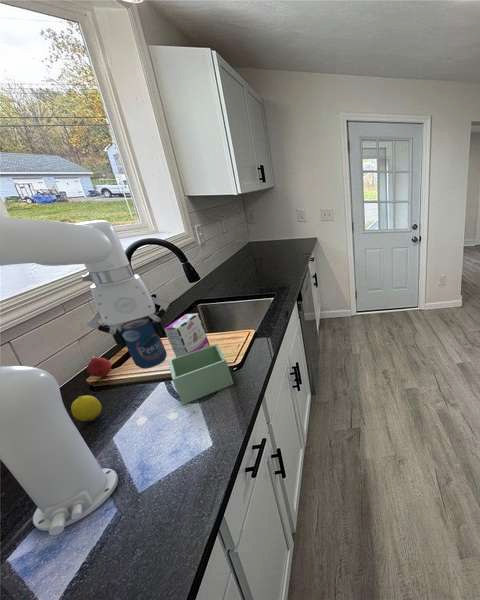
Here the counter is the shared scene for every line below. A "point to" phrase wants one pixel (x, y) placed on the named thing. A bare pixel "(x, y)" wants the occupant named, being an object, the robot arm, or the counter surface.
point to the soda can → (143, 343)
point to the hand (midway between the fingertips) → (142, 339)
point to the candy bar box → (187, 335)
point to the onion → (98, 367)
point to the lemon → (86, 408)
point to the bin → (200, 373)
